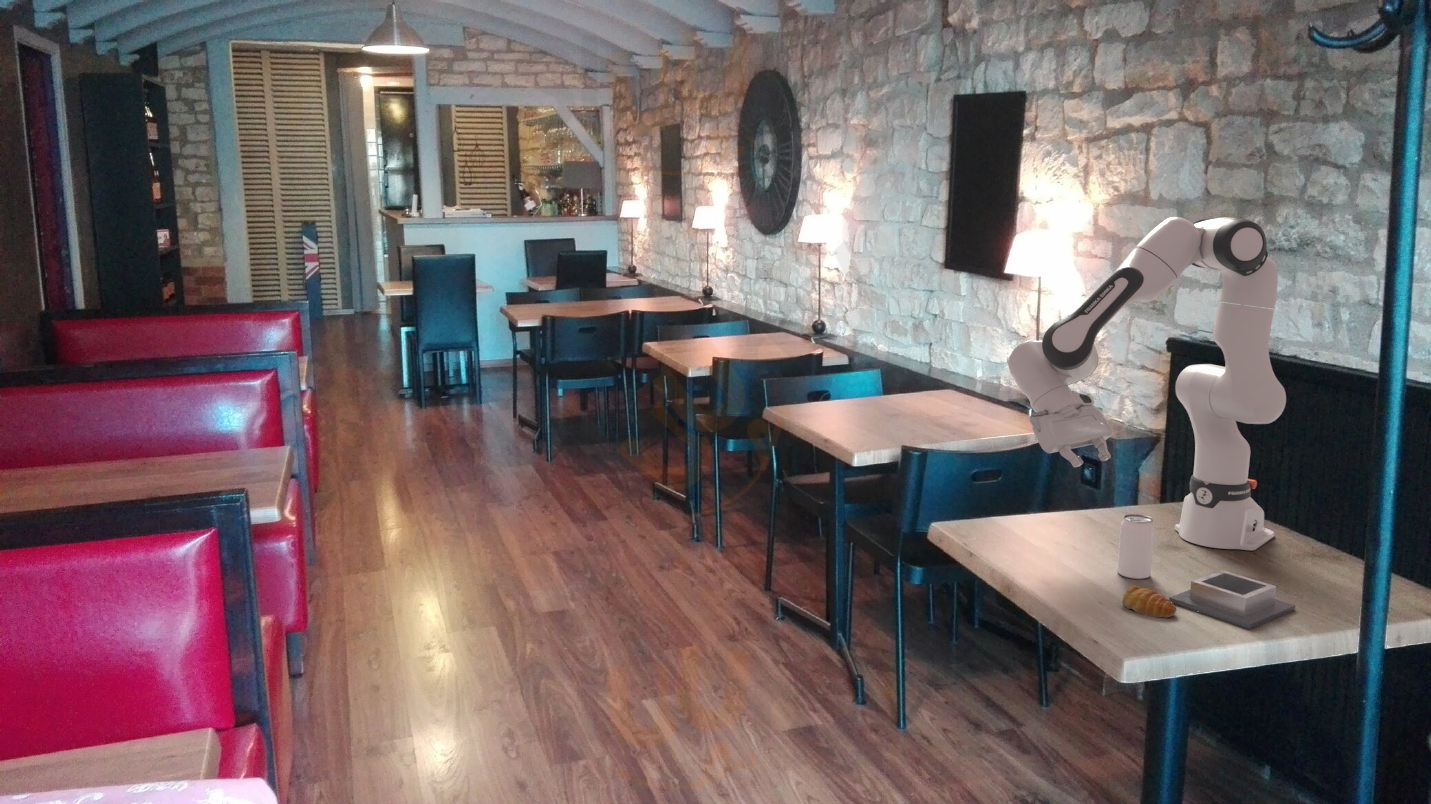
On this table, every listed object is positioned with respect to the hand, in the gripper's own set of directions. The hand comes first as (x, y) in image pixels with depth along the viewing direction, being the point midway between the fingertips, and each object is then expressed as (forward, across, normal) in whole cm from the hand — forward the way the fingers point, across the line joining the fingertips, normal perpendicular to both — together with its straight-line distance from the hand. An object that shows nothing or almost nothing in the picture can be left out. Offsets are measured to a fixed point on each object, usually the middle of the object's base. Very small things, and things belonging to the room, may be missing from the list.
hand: (1093, 462), depth 234 cm
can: (+23, 0, +7) cm, 24 cm away
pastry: (+32, -14, -2) cm, 35 cm away
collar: (+38, 0, -8) cm, 39 cm away
